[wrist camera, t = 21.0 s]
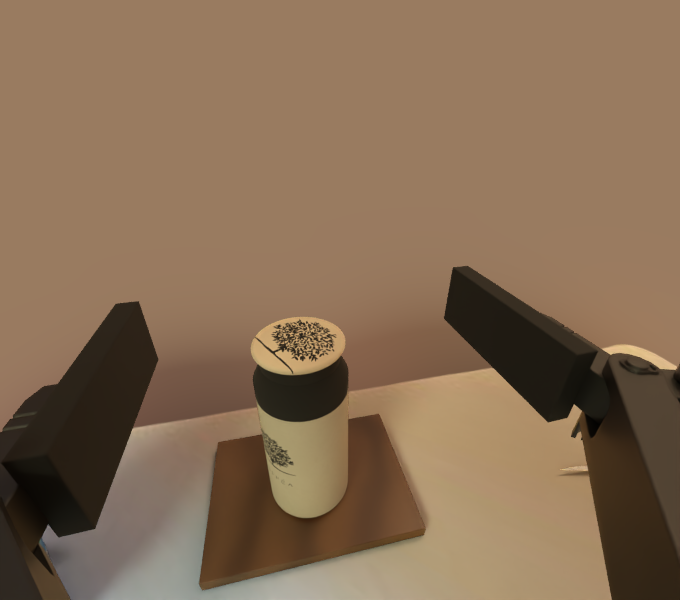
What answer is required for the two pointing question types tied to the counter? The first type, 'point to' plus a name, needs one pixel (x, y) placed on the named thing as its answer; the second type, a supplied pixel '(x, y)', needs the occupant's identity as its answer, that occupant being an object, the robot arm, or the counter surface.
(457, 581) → the counter surface
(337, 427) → the travel mug
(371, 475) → the walnut board
